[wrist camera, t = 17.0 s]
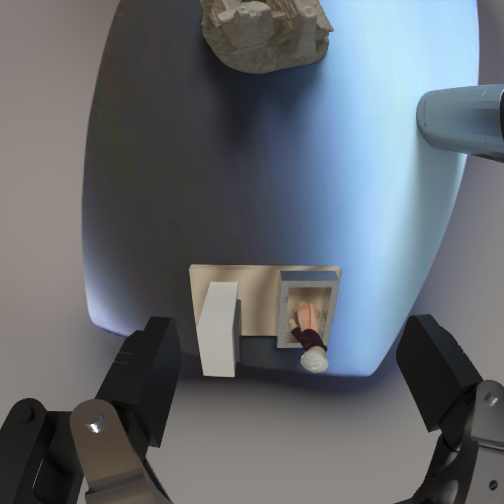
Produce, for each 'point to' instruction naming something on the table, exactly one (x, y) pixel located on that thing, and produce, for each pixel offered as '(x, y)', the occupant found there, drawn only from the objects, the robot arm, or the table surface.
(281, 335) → the slot walls
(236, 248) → the table surface
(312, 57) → the beige jagged towered block
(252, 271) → the cream base plate
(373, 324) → the table surface
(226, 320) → the white box with panel
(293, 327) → the grandmother figurine
